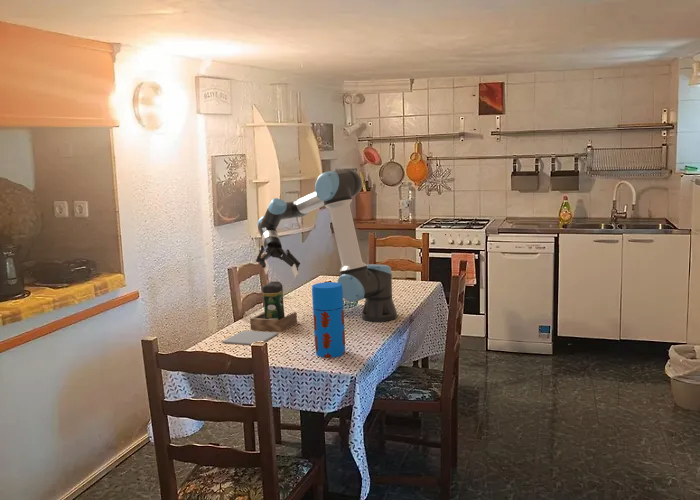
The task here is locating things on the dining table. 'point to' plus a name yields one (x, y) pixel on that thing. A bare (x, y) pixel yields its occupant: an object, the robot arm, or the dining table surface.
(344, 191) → the robot arm
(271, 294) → the coffee jar
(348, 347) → the dining table surface
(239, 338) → the slate mat
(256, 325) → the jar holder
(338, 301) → the thermos
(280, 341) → the dining table surface
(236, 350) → the dining table surface
